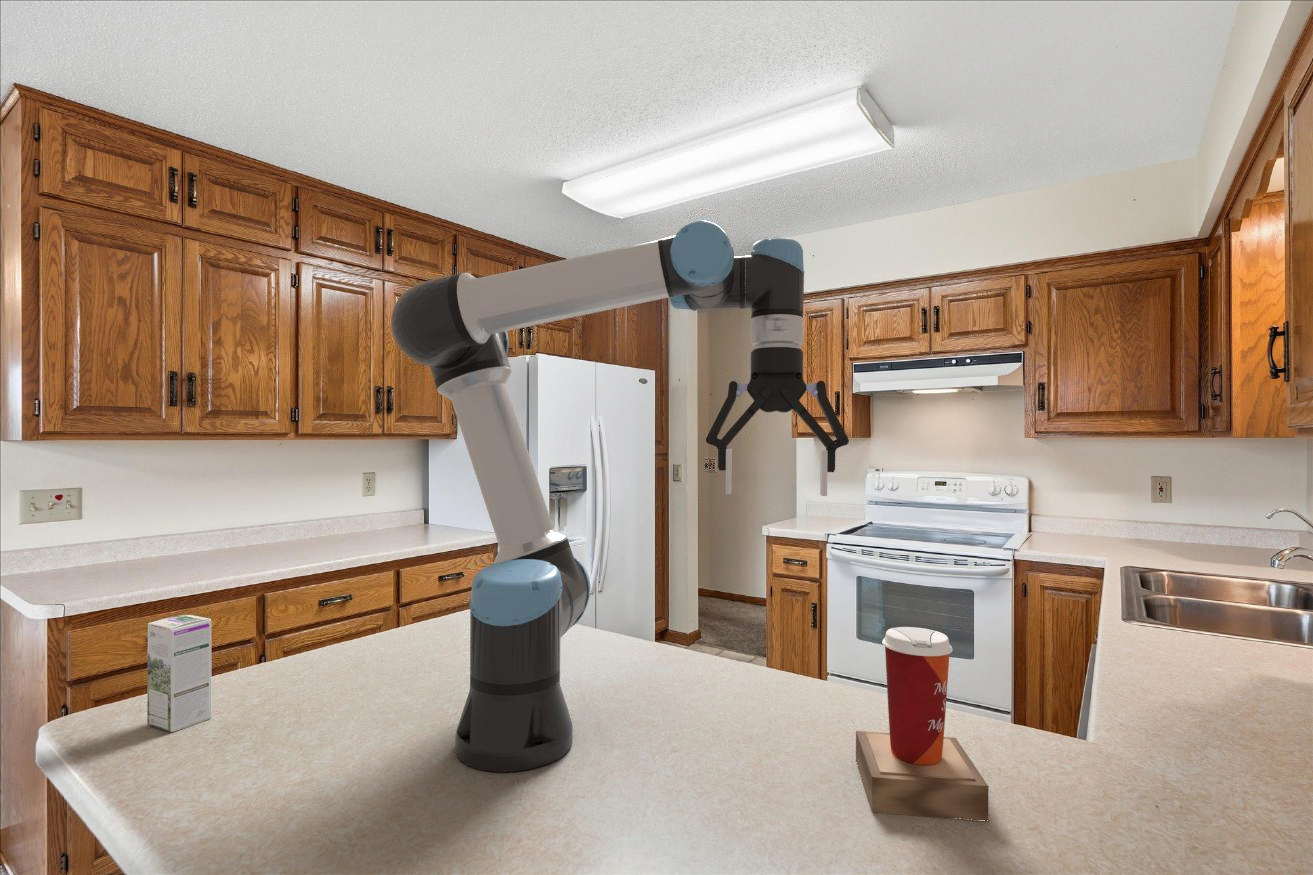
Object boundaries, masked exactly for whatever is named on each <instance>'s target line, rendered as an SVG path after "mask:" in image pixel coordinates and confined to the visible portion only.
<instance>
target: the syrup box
mask: <svg viewBox="0 0 1313 875" xmlns="http://www.w3.org/2000/svg"><path fill="white" fill-rule="evenodd" d="M146 690H147V691H146V694H147V700H146V701H147V702H146V703H147V706H146V707H147V714H146V715H147V716H146V717H147V719H146V720H147V721H146V722H147V724H146V725H148V726H150V727H153V728H156V729H160V730H163V731H166V732H169V733H174V732H177V731H179V730H184V729H186V728H188V727H193V726H195V725H197V724H200V723H202V722H205V721H208V720H210V719H211V718H212V619H211V618H209V617H203V616H198V615H193V614H189V613H188V614H180V615H174V616H169V617H165V618H161V619H158V620H155V621H151V622H147V689H146Z"/></svg>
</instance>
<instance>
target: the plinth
mask: <svg viewBox="0 0 1313 875" xmlns="http://www.w3.org/2000/svg"><path fill="white" fill-rule="evenodd" d="M856 762H857V763H856ZM855 763H856V766H857V765H858V766H857V769H859V770H858V773H859V772H860V773H859V775H861V776H860V778H862V779H861V782H862V785H863V788H865V789H864V791H865V794H866V798H867V802H868V804H869V808H870V811H871V812H872V813H878V814H879V813H881V814H890V815H892V814H893V815H902V816H903V815H904V816H915V817H924V818H925V817H927V818H936V817H938V818H939V819H948V818H958V819H957V820H959V818H961V819H969V820H968V821H971V819H972V820H985V821H987V820H988V821H989V785H988V784H987V782H986V780H985V779H984V777H983V776H982V774H981V773H980V772H979V770H978V769H977V767H976V766H975V764H974V762H973V761H972V759H971V758H970V757H969V755H968V753H967V752H966V751H965V750H964V748H963V746H962V745H961V743H960V742H959V741H958V739H957V737H953V736H952V737H950V736H949V737H947V736H944V740H943V752H942V759H941V761H940V762H939V763H938V764H935V765H929V766H923V765H915V764H910V763H907V762H904V761H902V760H900V759H898V758H896V757H895V756H894V755H893V754H892V752H891V745H890V732H879V731H878V732H877V731H867V730H866V731H863V730H855ZM942 817H943V818H942ZM938 818H937V819H938Z"/></svg>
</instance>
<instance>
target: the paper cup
mask: <svg viewBox="0 0 1313 875" xmlns="http://www.w3.org/2000/svg"><path fill="white" fill-rule="evenodd" d="M881 642H882V645H883V646H884V648H885V650H884V652H885V654H884V655H885V668H886V669H885V670H886V672H885V674H886V691H887V692H886V693H887V707H888V708H887V709H888V710H887V711H888V727H889V728H888V729H889V733H890V745H891V752H892V754H893V755H894V756H895V757H896V758H898V759H900V760H902V761H904V762H907V763H910V764H915V765H923V766H929V765H935V764H938V763H939V762H940V761H941V759H942V752H943V740H944V737H945V725H946V712H947V698H948V697H947V696H948V694H947V693H948V682H949V680H948V679H949V666H950V654H951V653H952V652H953V647H952V645H951V644H950V640H949V637H948V635H946V634H945V633H943V632H940V631H936V630H933V629H929V628H923V627H914V626H899V627H897V626H896V627H891V628H889V629H887V630H886V632H885V637H884V638H883V639H882V640H881Z"/></svg>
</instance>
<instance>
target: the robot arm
mask: <svg viewBox="0 0 1313 875" xmlns="http://www.w3.org/2000/svg"><path fill="white" fill-rule="evenodd" d="M804 290H805V269H804V249H803V246H802V245H801V244H800V242H798V241H797V240H795V239H791V238H789V237H787V238H786V237H770V238H765V239H764V238H763V239H760V240H758V241H756V242H755V243H753V245H752V247H751V252H750V255H744V256H743V255H742V256H735V252H734V248H733V246H732V243H731V241H730V238H729V236H728V235H727V233H726V231H725V230H724V229H723V228H722V227H720V226H719V225H718V224H716V223H714V222H712V221H708V220H695V221H691V222H689V223H687V224H686V225H684V226H682V227H681V228H680V229H679V231H677V232H676V234H675V235H673V236H668V237H664V238H660V239H656V240H652V241H648V242H643V243H639V244H633V245H629V246H625V247H619V248H615V249H609V250H605V251H601V252H595V253H590V254H586V255H585V254H584V255H580V256H577V257H572V258H567V259H562V260H557V261H553V262H548V263H543V264H538V265H534V266H533V265H532V266H529V267H525V268H520V269H515V270H510V271H505V272H501V273H495V274H491V275H487V276H481V277H475V276H474V275H472V274H471V273H469V272H462V273H461V272H460V273H458V274H453V275H447V276H443V277H439V278H438V277H437V278H435V279H431V280H430V279H429V280H427V281H423V282H420V283H417V284H415V285H414V286H411V287H409V288H408V289H407V290H405V291H404V292H403V293H402V294H401V296H399V297H398V299H397V301H396V302H395V305H394V306H393V308H392V313H391V316H390V317H391V318H390V328H391V333H392V336H393V338H394V341H395V343H396V345H397V346H398V348H399V349H400V350H401V351H402V352H403V354H404V355H405V356H406V357H408V358H410V359H411V361H414V362H416V363H419V364H421V365H424V366H427V367H429V369H430V372H431V376H432V378H433V382H434V385H435V387H436V390H437V391H436V392H437V393H438V394H439V395H441V396H444V397H445V398H447V399H449V400H450V401H451V403H452V407H453V410H454V412H455V413H454V414H455V416H456V418H457V422H458V424H459V427H460V430H461V433H462V437H463V441H464V443H465V445H466V446H465V447H466V449H467V452H468V455H469V457H470V460H471V465H472V468H473V471H474V473H475V476H476V479H477V482H478V485H479V489H480V492H481V494H482V498H483V501H484V505H485V507H486V510H487V513H488V517H489V520H490V522H491V525H492V528H493V530H494V531H493V532H494V533H495V534H494V535H495V537H496V540H497V544H498V546H499V549H498V552H497V555H496V557H495V559H494V561H493V564H490V565H488V566H485V567H484V568H482V569H480V570H479V571H478V572H477V573H476V574H475V576H474V578H473V580H472V583H471V593H470V598H469V602H468V603H469V610H470V616H469V618H470V621H469V623H470V624H469V625H470V628H469V633H470V635H469V637H470V640H469V642H470V643H469V644H470V645H469V647H470V648H469V650H470V651H469V662H470V664H469V673H470V674H469V676H470V677H469V679H470V680H469V692H468V694H467V698H466V700H465V704H464V706H463V709H462V712H461V716H460V719H459V722H458V725H457V728H456V730H455V741H454V742H455V743H454V749H455V750H454V751H455V752H454V753H455V755H456V758H458V759H457V760H459V761H460V762H462V763H463V764H464V765H466V766H469V767H471V768H474V769H476V770H477V769H478V770H483V771H487V772H488V771H489V772H501V773H502V772H504V773H506V772H517V771H520V772H521V771H526V770H532V769H536V768H539V767H543V766H546V765H549V764H551V763H553V762H555V761H558V760H559V759H561V758H562V757H564V756H565V755H566V754H567V753H568V752H569V751H570V750H571V748H572V746H573V737H574V736H573V729H574V728H573V727H574V726H573V721H572V717H571V714H570V712H569V709H568V705H567V702H566V699H565V696H564V693H563V690H562V686H561V638H562V637H563V636H564V635H565V634H566V633H567V632H568V631H569V630H570V629H571V628H572V627H574V626H575V625H576V624H577V623H578V622H579V621H580V619H581V618H582V617H583V615H584V612H585V611H586V608H588V607H587V606H588V604H589V601H590V598H591V597H590V596H591V588H592V587H591V581H590V577H589V573H588V571H587V569H586V567H585V566H584V565H583V563H582V562H580V560H579V559H577V558H576V557H574V554H573V550H572V548H571V545H570V541H569V539H568V536H567V535H565V534H563V533H561V532H559V531H557V530H556V529H554V525H553V522H552V519H551V516H550V513H549V510H548V508H547V504H546V501H545V499H544V495H543V493H542V488H541V486H540V483H539V480H538V477H537V474H536V471H535V468H534V465H533V462H532V459H531V456H530V453H529V450H528V447H527V444H526V440H525V438H524V434H523V432H522V429H521V425H520V423H519V419H518V417H517V415H516V414H517V413H516V411H515V408H514V404H513V402H512V398H511V396H510V393H509V390H508V386H507V382H508V380H509V378H510V376H511V375H512V372H513V371H512V368H511V364H510V362H509V358H508V356H507V355H508V353H509V346H510V343H509V342H510V341H509V334H508V331H509V332H510V331H512V330H518V329H523V328H527V327H533V326H536V325H541V324H547V323H553V322H558V321H561V320H562V321H563V320H566V319H570V318H576V317H581V316H587V315H590V314H596V313H601V312H607V311H608V310H609V311H610V310H615V309H619V308H625V307H630V306H634V305H639V304H643V303H648V302H649V303H650V302H654V301H658V300H663V299H667V298H668V299H669V302H670V304H671V306H672V308H674V309H677V310H691V311H697V310H723V309H724V310H727V309H730V310H732V309H740V310H741V309H751V310H750V312H751V315H750V345H751V346H752V348H753V350H752V349H751V350H752V351H751V352H750V379H749V382H748V383H743V382H737V381H736V380H731V381H730V382H729V384H728V391H727V397H726V398H725V400H724V402H723V405H721V409H720V410H719V412H718V414H717V416H716V418H715V420H714V421H713V423H712V425H711V428H710V430H709V431H708V434H707V436H706V438H705V441H706V443H707V444H709V445H711V446H713V447H715V448H717V450H718V451H717V452H718V453H717V455H718V456H717V468H718V470H719V471H725V495H732V489H733V487H732V481H733V480H732V479H733V478H732V474H733V473H732V472H733V471H732V470H733V464H732V463H733V460H732V459H733V458H732V457H733V448H728V445H729V444H730V443H731V442H732V441H733V440H734V439H735V437H736V436H737V435H738V434H739V433H740V432H741V430H742V429H743V428H744V427H745V426H746V425H747V424H748V423H749V421H750V420H751V419H752V418H753V416H755V414H757V413H758V411H759V410H761V411H762V412H764V413H773V412H778V413H781V414H782V413H785V414H786V413H788V412H791V411H792V410H793V411H794V412H795V414H796V415H797V416H798V417H799V418H800V419H801V420H802V421H803V423H804V424H805V425H806V426H807V427H808V428H809V430H810V431H811V432H812V433H813V434H814V435H815V437H817V439H818V440H819V442H821V444H822V445H823V446H824V447H825V449H820V450H819V452H820V453H819V454H820V455H819V458H820V459H819V460H820V461H819V470H820V471H819V474H820V475H819V495H820V496H821V497H828V473H834V472H835V470H836V450H837V449H839V448H841V447H844V446H847V445H849V442H850V440H849V438H848V435H847V434H846V432H845V430H844V428H843V426H842V424H841V421H840V420H839V417H838V416H837V414H836V412H835V410H834V408H833V406H832V403H831V402H830V400H829V398H828V394H827V388H826V383H825V381H824V380H818V382H812V383H811V382H810V383H805V381H804V351H803V350H802V349H801V348H800V347H802V346H803V345H804V299H805V297H804V296H805V295H804V294H805V293H804V292H805V291H804ZM745 392H747V393H748V394H749V396H750V397H751V399H752V400H753V402H752V403H751V404H750V405H749V407H748V408H747V409H746V410H745V411H744V412H743V413H742V415H741V416H740V417H739V418H738V419H737V421H735V423H733V425H732V426H731V427H730V428H729V430H728V431H727V432H726V433H725V434H724V436H723V437H722V438H719V437H718V436H719V434H720V432H721V430H722V428H723V427H724V424H725V423H726V420H727V418H728V416H729V414H730V413H731V410H732V408H733V407H734V405H735V403H736V400H737V398H741V397H742V396H743V394H744V393H745ZM806 392H809V393H810V395H811V397H813V398H816V399H817V403H818V405H819V407H820V409H821V411H822V412H823V414H824V417H825V418H826V421H827V423H828V425H829V427H830V429H831V431H832V433H833V435H834V437H835V439H832V438H831V436H830V435H829V434H828V432H826V431H825V430H824V429H823V426H821V425H820V424H819V422H818V421H817V420H816V419H815V418H814V417H813V416H812V414H811V413H810V412H809V410H808V409H807V408H806V407H805V405H803V403H802V401H800V400H801V399H802V397H803V396H804V394H805V393H806Z"/></svg>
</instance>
